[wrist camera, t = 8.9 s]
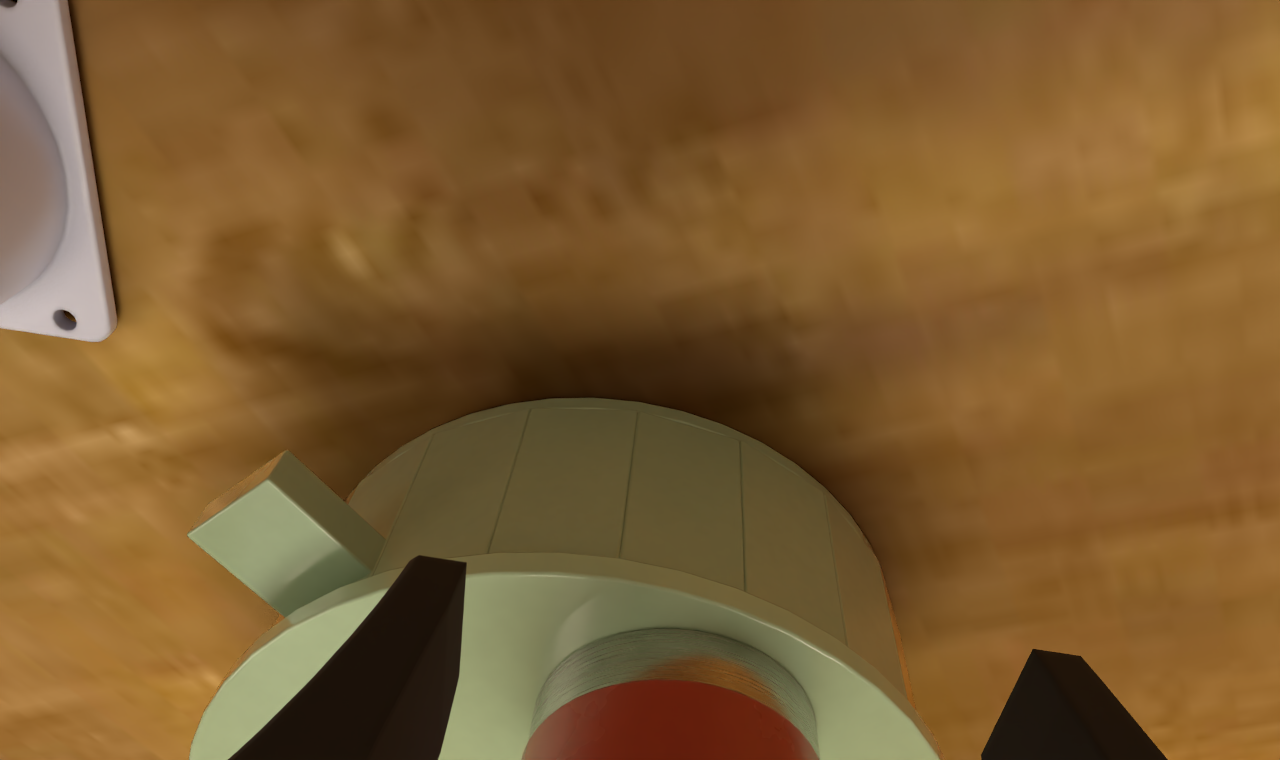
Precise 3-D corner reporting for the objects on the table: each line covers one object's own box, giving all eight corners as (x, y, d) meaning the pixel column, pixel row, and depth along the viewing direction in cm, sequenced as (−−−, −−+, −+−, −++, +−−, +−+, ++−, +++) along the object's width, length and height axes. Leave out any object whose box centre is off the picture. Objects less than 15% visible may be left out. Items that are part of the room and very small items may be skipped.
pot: (612, 918, 34) (593, 1121, 29) (118, 514, 26) (-30, 694, 21) (1042, 754, 28) (1115, 970, 23) (580, 177, 20) (534, 309, 15)
